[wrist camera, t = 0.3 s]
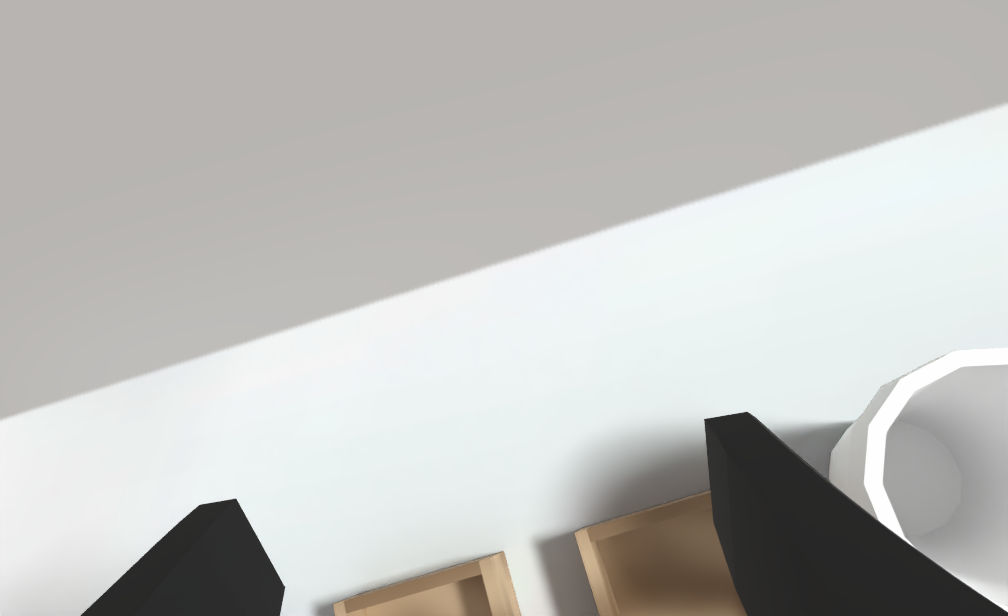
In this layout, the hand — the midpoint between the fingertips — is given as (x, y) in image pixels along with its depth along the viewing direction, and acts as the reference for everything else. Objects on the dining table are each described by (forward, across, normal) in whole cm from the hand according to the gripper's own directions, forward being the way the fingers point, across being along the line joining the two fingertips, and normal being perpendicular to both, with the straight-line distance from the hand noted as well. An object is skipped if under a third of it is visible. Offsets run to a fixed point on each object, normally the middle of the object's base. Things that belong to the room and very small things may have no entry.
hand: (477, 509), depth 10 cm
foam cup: (+19, -17, +21) cm, 33 cm away
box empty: (+16, -6, +25) cm, 30 cm away
